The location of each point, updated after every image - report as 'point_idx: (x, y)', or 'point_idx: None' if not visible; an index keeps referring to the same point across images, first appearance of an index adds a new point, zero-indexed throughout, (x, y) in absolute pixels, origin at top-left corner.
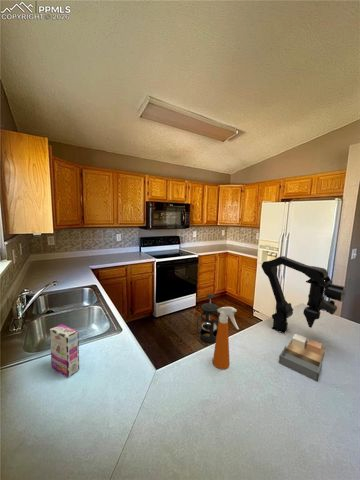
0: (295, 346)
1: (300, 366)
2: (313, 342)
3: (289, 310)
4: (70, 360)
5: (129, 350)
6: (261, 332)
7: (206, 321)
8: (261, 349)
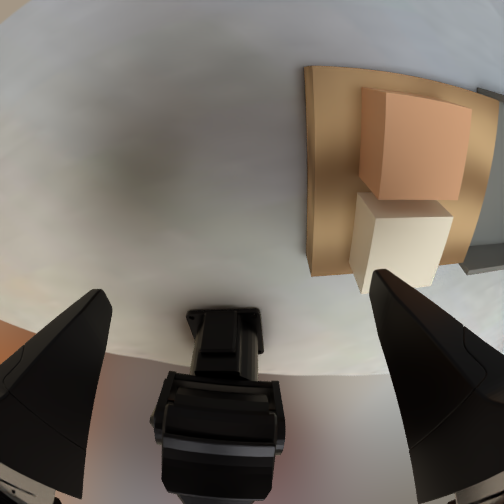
0: None
1: None
2: (418, 162)
3: (225, 453)
4: None
5: None
6: (333, 357)
7: None
8: (456, 309)
